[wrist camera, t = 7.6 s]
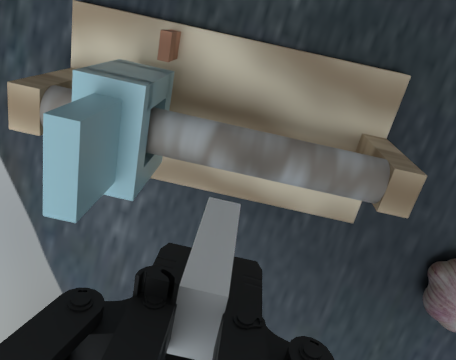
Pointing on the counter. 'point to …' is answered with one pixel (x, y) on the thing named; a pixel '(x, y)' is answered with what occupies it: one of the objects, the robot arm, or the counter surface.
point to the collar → (101, 137)
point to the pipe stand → (247, 115)
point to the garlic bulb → (442, 293)
